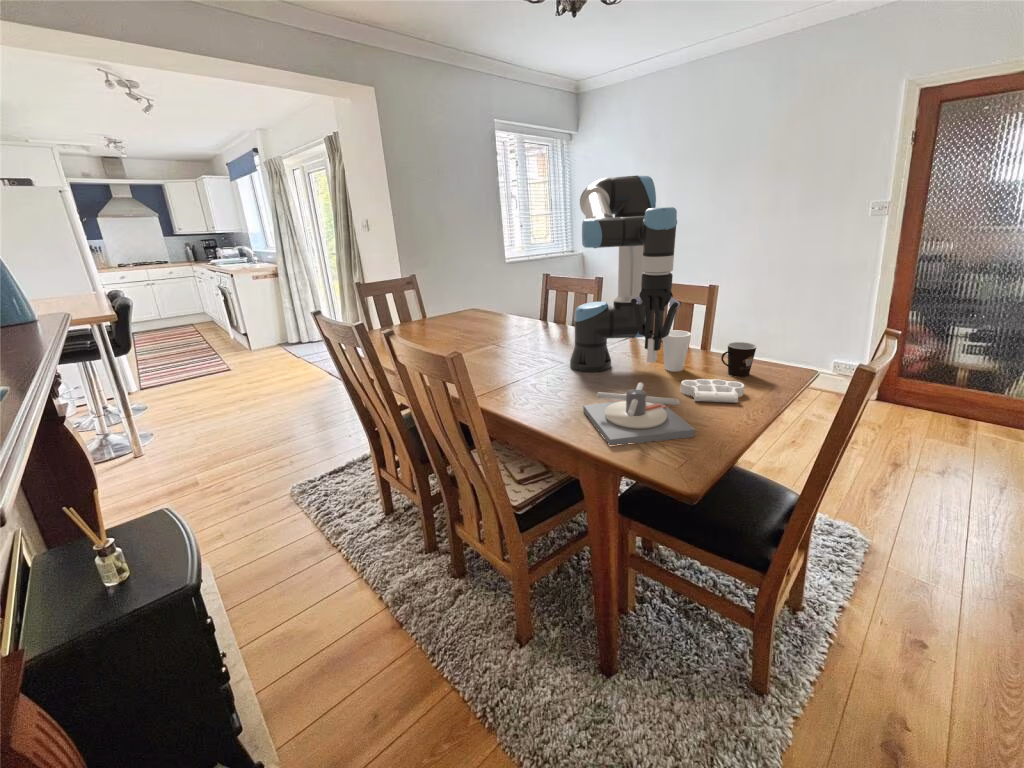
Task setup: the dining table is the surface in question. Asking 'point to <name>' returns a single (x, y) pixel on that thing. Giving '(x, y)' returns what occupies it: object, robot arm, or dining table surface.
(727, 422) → the dining table surface
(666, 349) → the foam cup
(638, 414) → the capstan
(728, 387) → the white brass knuckles
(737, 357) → the coffee mug
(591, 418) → the dial board
